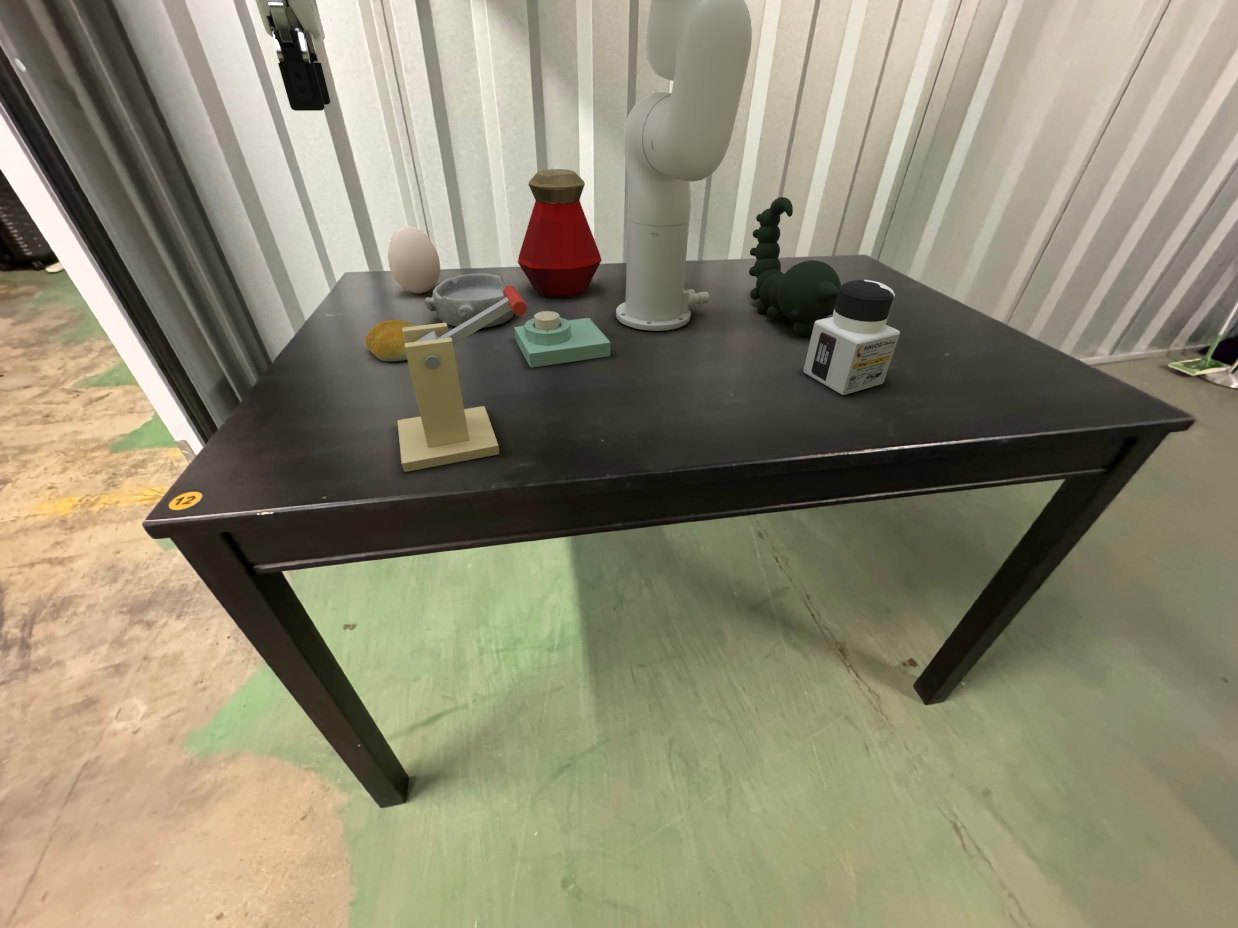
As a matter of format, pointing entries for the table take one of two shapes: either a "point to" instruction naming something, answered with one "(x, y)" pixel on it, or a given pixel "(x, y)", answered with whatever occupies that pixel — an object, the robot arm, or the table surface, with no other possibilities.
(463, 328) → the lever
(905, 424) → the table surface
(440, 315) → the dish
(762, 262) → the segmented green worm
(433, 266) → the egg
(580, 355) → the button panel
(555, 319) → the button
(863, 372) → the container
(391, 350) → the bread roll
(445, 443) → the bracket
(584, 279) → the bottle
